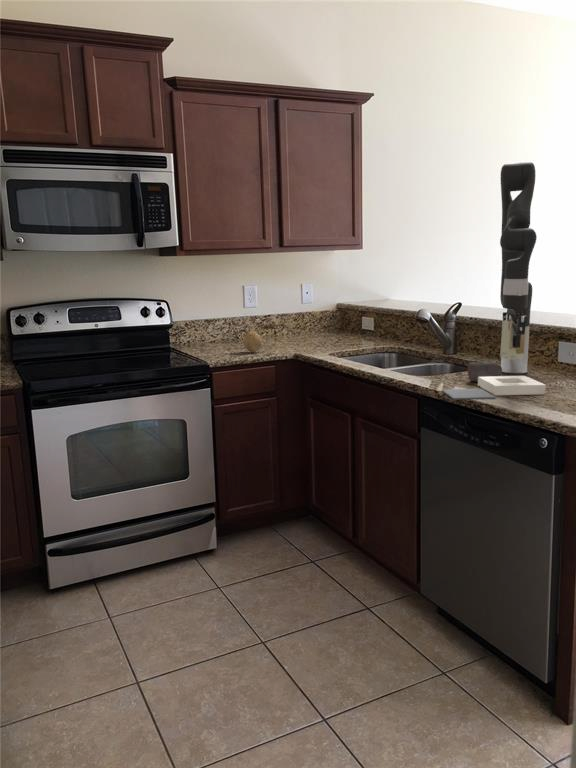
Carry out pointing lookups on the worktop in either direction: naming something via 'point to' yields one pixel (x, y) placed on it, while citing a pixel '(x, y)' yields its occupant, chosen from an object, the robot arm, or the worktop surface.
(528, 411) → the worktop surface
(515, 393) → the holder
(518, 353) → the skincare box
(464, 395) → the mat
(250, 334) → the natural sponge
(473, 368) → the perforated stone tool
